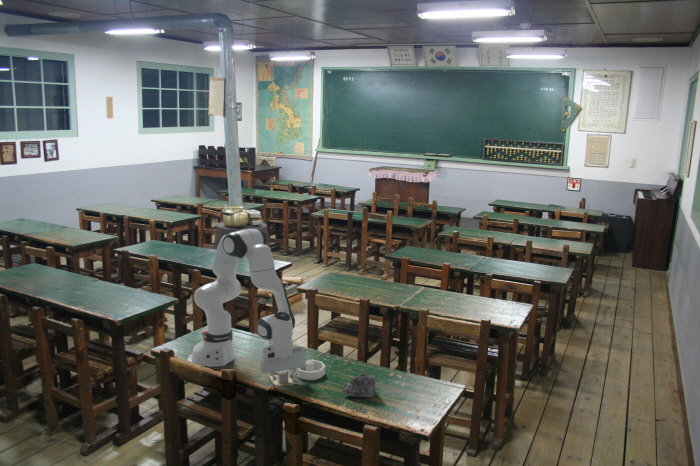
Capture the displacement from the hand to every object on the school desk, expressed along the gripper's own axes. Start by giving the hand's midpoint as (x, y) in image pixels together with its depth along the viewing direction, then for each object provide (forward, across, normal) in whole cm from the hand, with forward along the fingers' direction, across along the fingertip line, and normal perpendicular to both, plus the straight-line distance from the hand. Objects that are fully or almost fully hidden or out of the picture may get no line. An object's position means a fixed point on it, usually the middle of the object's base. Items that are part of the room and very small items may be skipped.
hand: (283, 378), depth 242 cm
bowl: (+2, -14, -4) cm, 15 cm away
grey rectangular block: (+2, 0, 0) cm, 2 cm away
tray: (+2, 0, -3) cm, 4 cm away
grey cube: (+1, -14, -6) cm, 15 cm away
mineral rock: (+3, -28, +20) cm, 35 cm away
